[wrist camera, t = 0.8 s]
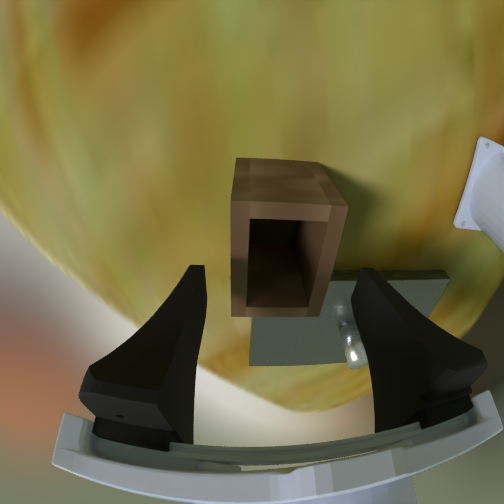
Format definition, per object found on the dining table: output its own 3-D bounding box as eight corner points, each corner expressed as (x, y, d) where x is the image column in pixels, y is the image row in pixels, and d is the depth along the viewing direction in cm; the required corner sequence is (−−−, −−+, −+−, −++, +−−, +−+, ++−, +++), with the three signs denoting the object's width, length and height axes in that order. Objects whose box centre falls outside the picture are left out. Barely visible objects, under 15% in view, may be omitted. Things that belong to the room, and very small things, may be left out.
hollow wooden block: (318, 162, 16) (348, 206, 11) (303, 254, 20) (319, 316, 16) (236, 157, 16) (230, 200, 11) (234, 252, 20) (231, 316, 15)
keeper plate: (444, 270, 22) (469, 308, 18) (399, 347, 29) (411, 381, 25) (254, 269, 21) (256, 320, 17) (249, 356, 28) (249, 398, 24)
